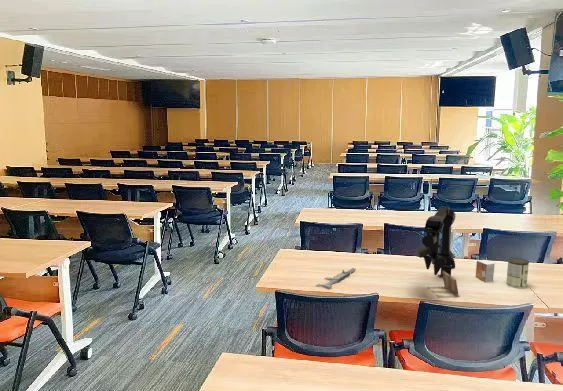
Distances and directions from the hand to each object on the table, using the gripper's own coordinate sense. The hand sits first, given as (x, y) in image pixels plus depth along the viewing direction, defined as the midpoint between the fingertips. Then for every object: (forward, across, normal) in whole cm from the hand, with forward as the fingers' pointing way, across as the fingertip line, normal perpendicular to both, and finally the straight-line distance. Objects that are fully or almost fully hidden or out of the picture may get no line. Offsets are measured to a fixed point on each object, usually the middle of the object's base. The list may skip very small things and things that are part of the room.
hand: (431, 271), depth 250 cm
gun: (+13, -30, -42) cm, 53 cm away
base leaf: (+12, 0, +7) cm, 14 cm away
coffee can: (+12, -7, +53) cm, 55 cm away
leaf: (+7, 0, +12) cm, 14 cm away
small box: (+12, -18, +40) cm, 45 cm away
